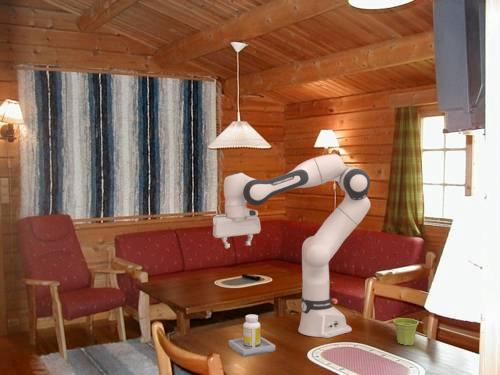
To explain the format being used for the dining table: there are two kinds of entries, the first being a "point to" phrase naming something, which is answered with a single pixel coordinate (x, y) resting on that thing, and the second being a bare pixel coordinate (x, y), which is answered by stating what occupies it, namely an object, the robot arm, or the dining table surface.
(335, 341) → the dining table surface
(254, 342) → the pill bottle
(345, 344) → the dining table surface
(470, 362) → the dining table surface
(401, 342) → the plant pot
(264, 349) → the dish
